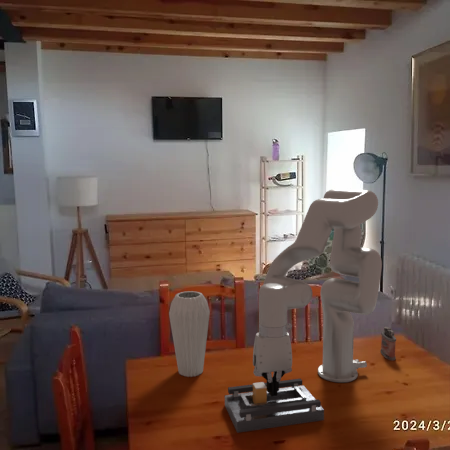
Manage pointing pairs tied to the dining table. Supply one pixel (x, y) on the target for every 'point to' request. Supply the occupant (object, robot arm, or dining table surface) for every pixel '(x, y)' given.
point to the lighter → (388, 344)
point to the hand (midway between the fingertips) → (272, 393)
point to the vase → (189, 331)
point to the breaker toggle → (259, 392)
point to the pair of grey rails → (275, 408)
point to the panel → (273, 419)
